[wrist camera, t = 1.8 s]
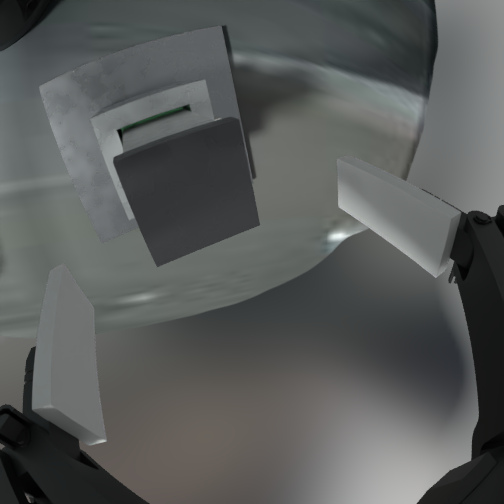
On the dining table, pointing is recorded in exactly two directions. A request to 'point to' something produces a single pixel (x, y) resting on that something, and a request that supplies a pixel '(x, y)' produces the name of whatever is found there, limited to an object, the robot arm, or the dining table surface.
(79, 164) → the stand
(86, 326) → the robot arm
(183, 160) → the column
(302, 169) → the dining table surface
